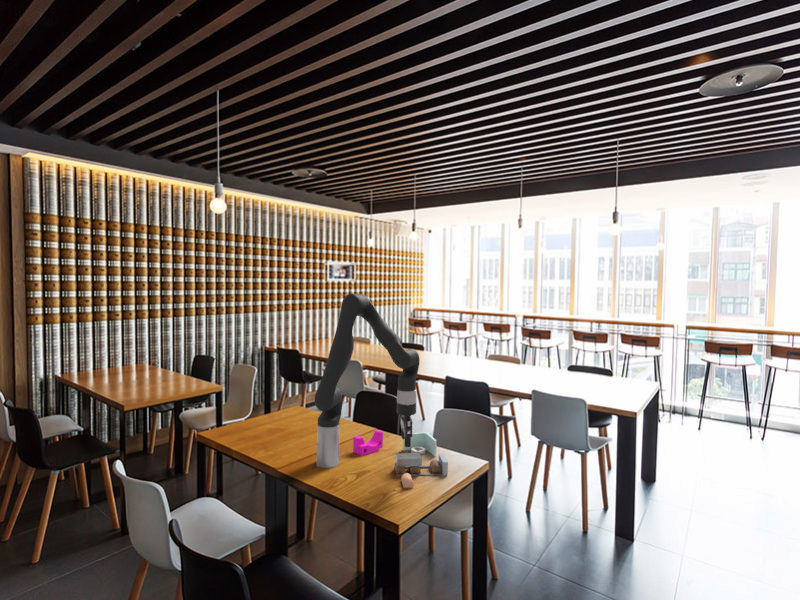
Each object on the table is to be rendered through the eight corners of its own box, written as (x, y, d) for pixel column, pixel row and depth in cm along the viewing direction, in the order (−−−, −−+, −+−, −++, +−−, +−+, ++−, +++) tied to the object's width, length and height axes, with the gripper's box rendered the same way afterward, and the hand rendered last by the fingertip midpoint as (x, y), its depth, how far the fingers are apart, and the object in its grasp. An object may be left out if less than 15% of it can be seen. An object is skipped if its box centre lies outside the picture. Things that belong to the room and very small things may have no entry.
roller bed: (396, 477, 175) (396, 468, 174) (394, 468, 183) (394, 459, 183) (442, 476, 177) (442, 466, 176) (438, 467, 185) (438, 458, 185)
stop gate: (442, 476, 176) (442, 462, 176) (438, 467, 185) (438, 453, 185) (447, 476, 177) (447, 462, 176) (442, 467, 185) (443, 453, 185)
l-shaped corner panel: (402, 450, 205) (403, 434, 205) (426, 447, 209) (426, 432, 209) (411, 459, 194) (411, 443, 194) (436, 456, 198) (436, 440, 198)
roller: (400, 485, 164) (408, 478, 164) (399, 478, 170) (406, 471, 170) (408, 492, 164) (415, 485, 164) (406, 485, 170) (413, 477, 171)
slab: (397, 466, 176) (397, 459, 176) (395, 460, 182) (395, 453, 182) (421, 466, 177) (421, 458, 177) (419, 460, 183) (419, 453, 183)
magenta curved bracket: (361, 456, 196) (362, 440, 196) (353, 452, 200) (353, 436, 200) (386, 448, 206) (386, 432, 206) (377, 444, 211) (377, 429, 211)
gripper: (394, 396, 174) (394, 436, 174) (399, 406, 160) (398, 449, 160) (413, 396, 175) (412, 436, 175) (419, 406, 161) (418, 449, 161)
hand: (406, 442), depth 168 cm, fingers open, 8 cm apart
